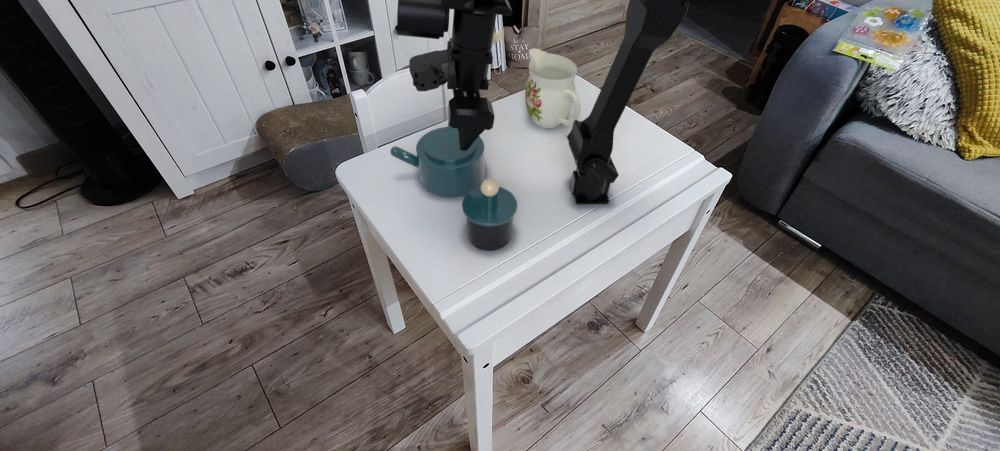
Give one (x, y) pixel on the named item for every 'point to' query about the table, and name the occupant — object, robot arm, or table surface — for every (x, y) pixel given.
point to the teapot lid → (489, 204)
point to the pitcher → (551, 89)
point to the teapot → (446, 162)
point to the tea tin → (489, 235)
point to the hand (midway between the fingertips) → (461, 132)
